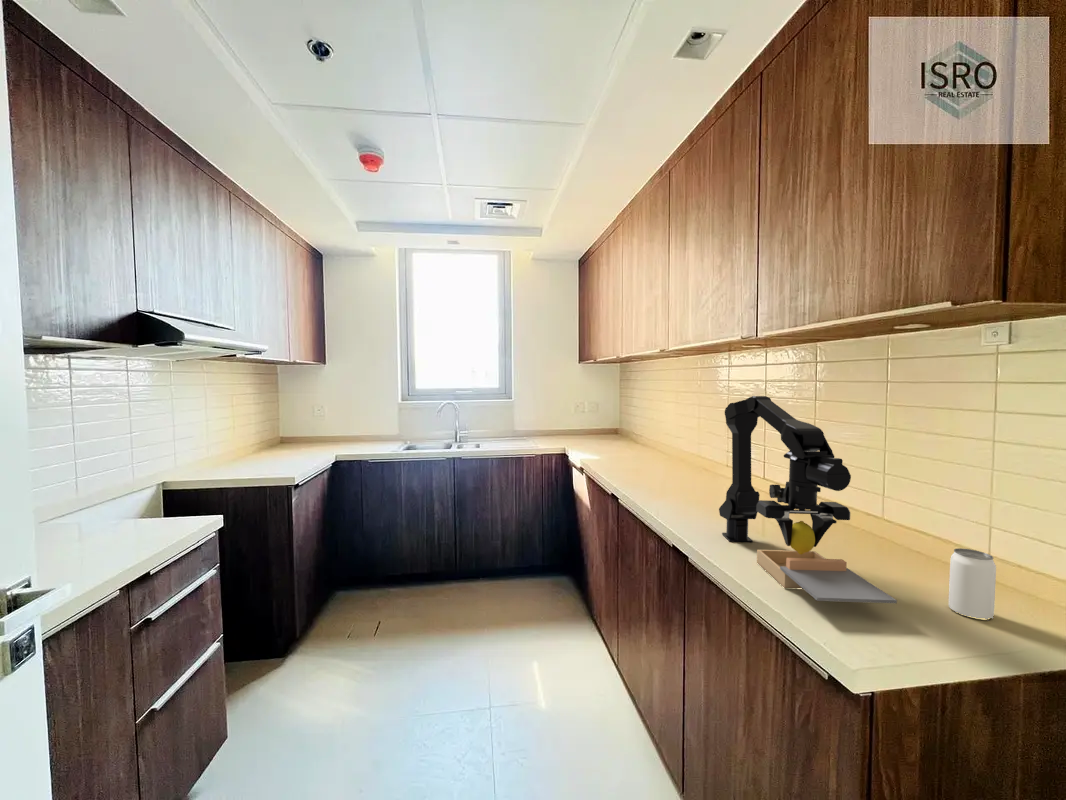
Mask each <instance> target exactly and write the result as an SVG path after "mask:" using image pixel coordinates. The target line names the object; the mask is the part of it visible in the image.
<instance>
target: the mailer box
mask: <svg viewBox="0 0 1066 800" xmlns="http://www.w3.org/2000/svg"><path fill="white" fill-rule="evenodd" d="M786 558H813V559H827V558H826V557H824V556H823V555H821V554H820V553H818V552H817V551H815V550H810V551H809V552H805V553H804V554H802V555H801V554H799V553H798V552H797V551H795V550H789V549H788V550H786V549H785V550H784V549H783V550H781V549H756V564H757V563H758V564H759V565H760V566H761V567H762V568H763V569H762V568H761V567H760V566H759V565H758V564H757V565H758V566H759V567H760V568H761V569H762V570H763V571H765V570H766V571H765V572H766V573H767V572H768V573H769V574H770V575H771V576H772V577H773V578H774V579H775V580H776V581H777V582H776V581H775V580H774V579H773V578H772V577H771V576H770V575H769V574H768V573H767V574H768V575H769V576H770V577H771V578H772V579H773V580H774V581H775V582H776V583H777V584H778V585H780V584H781V585H782V586H783V587H784V588H802V587H801V586H799V585H798V584H797V583H796V582H795V581H794V580H792V579H791V578H790V577H789V576H788V575H786V574H785V573H784V572H783V571H782V570H781V569H780V566H785V567H786ZM781 585H780V586H781ZM782 586H781V587H782ZM783 587H782V588H783ZM784 588H783V589H784ZM802 589H803V588H802ZM802 589H801V590H802Z"/></svg>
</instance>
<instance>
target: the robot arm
mask: <svg viewBox="0 0 1066 800" xmlns="http://www.w3.org/2000/svg"><path fill="white" fill-rule="evenodd" d="M724 417H725V423H726V427H728V429H729V430H730V432H731V444H732V445H731V448H732V449H731V453H732V455H731V457H732V458H731V459H732V460H731V461H732V462H731V465H732V467H731V469H732V471H731V472H732V473H731V474H732V477H731V478H732V479H731V480H732V481H731V484H730V486H729V488H728V489H727V490H726V493H725V494H726V496H725V501H723V503H722V504H721V505H720V507H719V508H718V512H719V516H720V517H722V518H723V519H725V520H726V529H725V530H726V531H725V532H722V533H721V535H722V536H723V537H725V539H726V540H727V541H728V542H731V543H732V542H733V543H735V542H737V543H753V542H754V541H753V539H752V538H750V537H749V520H756V519H757V515H758V514H760V515H761V516H763V517H764V518H767V519H774V520H775V521H776V523H778V524H777V525H778V526H779V528H780V529H779V530H780V531H781V534H782V536H783V539H784V544H785V545H786V546H787V547H791V546H790V543H791V537H792V526H793V524H794V521H793V519H791V518H790V514H794V515H798V514H800V515H810V518H811V522H812V525H811V526H812V527H811V528H812V529H813V531H814V535H815V544H814V547H813V548H816V547H817V546H818V544H819V543H820V542H821V540H822V539H823V536H824V535H825V534H826V533H827V532H828V530H829V529H830V527H831V526H832V525H834V524H837V521H850V520H851V511H850V509H849V507H847V506H845V505H843V504H841V503H839V502H836V501H820V502H819V503H817V502H818V501H817V500H818V493H821V490H822V489H821V487H822V488H826V489H829V490H833V491H836V492H840V491H843V490H845V489H846V488H847V487H849V485H850V483H851V478H852V475H851V474H850V471H849V469H848V467H847V466H845V465H843V461H844V460H843V459H842V458H840V457H838V458H837V457H836V456H835V454H834V452H833V450H832V448H831V446H830V445H829V443H828V440H827V439H826V436H825V434H824V432H823V430H822V429H821V428H820V427H818V426H816V425H814V424H811V423H809V422H805V421H801V420H799V419H796V418H795V417H794V416H792V415H791V414H790V413H788V412H786V410H784V409H783V408H781V407H780V406H779V405H777V404H776V403H775V402H774V401H772V398H770V397H768V396H766V395H753V396H749V397H748V398H746V399H741V400H739V401H735V402H731V403H729V404H728V405H727V406H726V407H725V409H724ZM759 417H760V418H761V419H762V420H764V421H765V422H766V423H767V424H769V425H770V426H771V427H772V428H773V429H775V430H776V431H777V432H778V433H779V434H780V440H781V442H782V443H783V444H784V445H785V446H786V448H787V449H788V450H789V451H788V452H786V453H784V454H783V457H784V459H789V473H788V481H785V482H786V483H785V487H781V485H780V484H770V485H769V491H768V492H769V497H770V498H771V499H776V500H777V501H775V500H765V499H764V500H763V499H762V500H760V492H759V491H756V489H755V488H754V486H753V485H752V433H753V432H754V430H755V428H756V427H757V426H758V420H759ZM780 503H783V504H780Z"/></svg>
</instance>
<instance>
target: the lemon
mask: <svg viewBox="0 0 1066 800" xmlns="http://www.w3.org/2000/svg"><path fill="white" fill-rule="evenodd" d="M814 544H815V535H814V531H813V529H812V527H811V526H810V525H809V524H808V523H806V522H805V521H803V520H800V521H798V522H797V521H796V522H793V526H792V537H791V543H790V546H789V547H791V549H793V551H797V552H798V553H799V554H801V555H802V554H804V553H805V552H809V551H813V548H815V547H814Z"/></svg>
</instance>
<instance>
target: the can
mask: <svg viewBox="0 0 1066 800" xmlns="http://www.w3.org/2000/svg"><path fill="white" fill-rule="evenodd" d="M949 562H950V563H949V580H948V581H949V585H948V607H949V609H952V610H954V611H955V612H958V613H960V614H963V615H966V616H971V617H976V618H985V619H988V618H992V619H994V617H993V616H995V604H996V603H995V601H996V577H997V565H996V563H995V561H994V556H993V555H991V554H988V553H986V552H983V551H981V550H976V549H975V550H974V549H970V548H969V549H968V548H954V549H953V553H952V554H951V556H950V561H949ZM952 610H951V611H952ZM954 611H953V612H954ZM955 612H954V613H955Z"/></svg>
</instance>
